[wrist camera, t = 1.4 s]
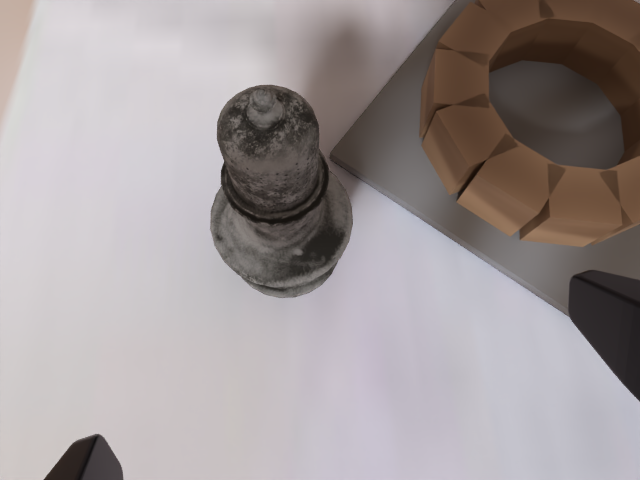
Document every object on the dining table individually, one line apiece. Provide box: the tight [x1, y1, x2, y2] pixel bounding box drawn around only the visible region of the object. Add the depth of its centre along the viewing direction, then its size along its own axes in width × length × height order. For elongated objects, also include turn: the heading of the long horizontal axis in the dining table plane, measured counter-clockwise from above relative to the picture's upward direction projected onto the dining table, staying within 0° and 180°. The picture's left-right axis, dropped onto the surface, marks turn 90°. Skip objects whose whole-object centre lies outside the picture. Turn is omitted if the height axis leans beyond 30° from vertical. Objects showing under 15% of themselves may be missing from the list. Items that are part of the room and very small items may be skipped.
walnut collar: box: [330, 0, 640, 317], centre depth 23 cm, size 16×16×4 cm
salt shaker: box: [210, 85, 353, 298], centre depth 17 cm, size 6×6×12 cm
